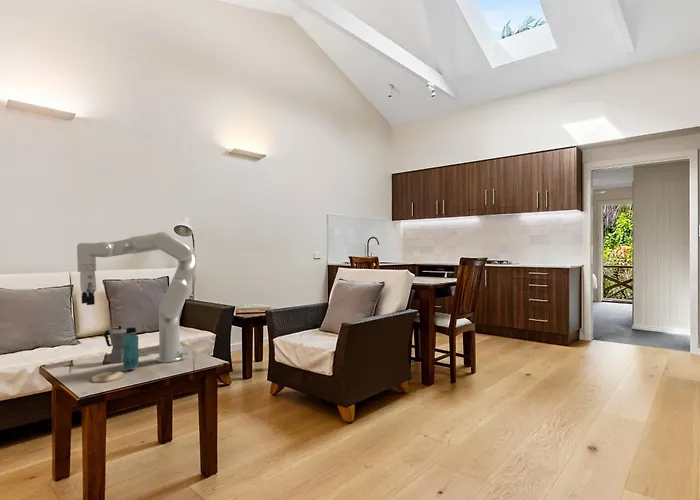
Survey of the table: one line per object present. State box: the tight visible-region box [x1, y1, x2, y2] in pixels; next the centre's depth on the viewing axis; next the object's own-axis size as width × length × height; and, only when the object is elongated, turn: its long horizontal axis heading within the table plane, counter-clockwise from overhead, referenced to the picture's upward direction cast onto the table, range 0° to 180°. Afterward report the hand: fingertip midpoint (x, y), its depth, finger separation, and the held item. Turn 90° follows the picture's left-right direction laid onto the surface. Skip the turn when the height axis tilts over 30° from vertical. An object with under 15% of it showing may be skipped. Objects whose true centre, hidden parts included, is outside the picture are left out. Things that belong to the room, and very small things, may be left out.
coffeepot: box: [103, 325, 133, 364], centre depth 212 cm, size 15×9×18 cm, turn 82°
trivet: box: [91, 371, 125, 384], centre depth 182 cm, size 12×12×1 cm
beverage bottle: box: [122, 327, 140, 370], centre depth 195 cm, size 6×7×20 cm
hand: (88, 303), depth 199 cm, fingers open, 9 cm apart
